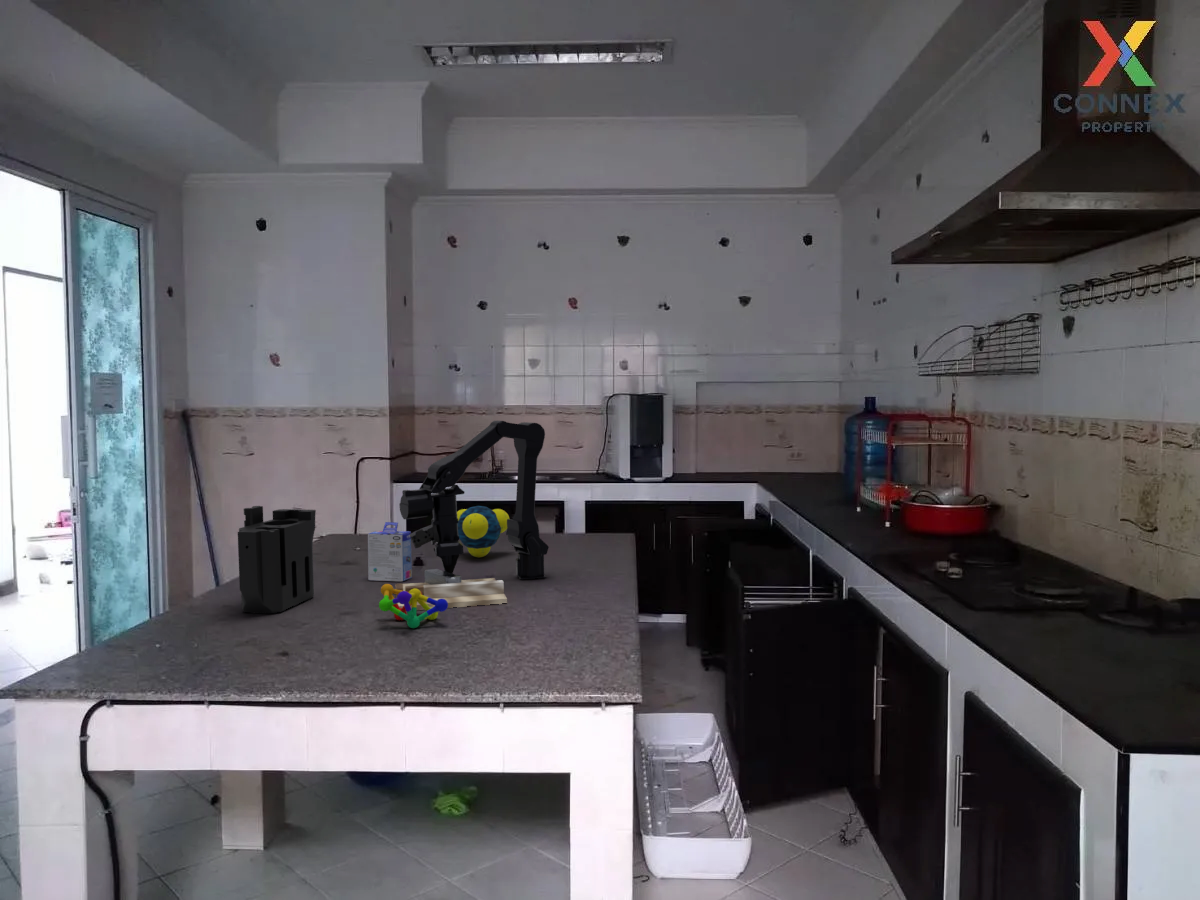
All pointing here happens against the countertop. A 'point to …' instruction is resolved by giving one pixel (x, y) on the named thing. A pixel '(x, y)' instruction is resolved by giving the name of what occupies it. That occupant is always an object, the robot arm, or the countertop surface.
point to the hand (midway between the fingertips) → (448, 578)
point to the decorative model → (409, 600)
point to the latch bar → (440, 577)
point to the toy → (480, 528)
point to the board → (464, 599)
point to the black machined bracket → (276, 559)
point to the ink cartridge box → (389, 554)
